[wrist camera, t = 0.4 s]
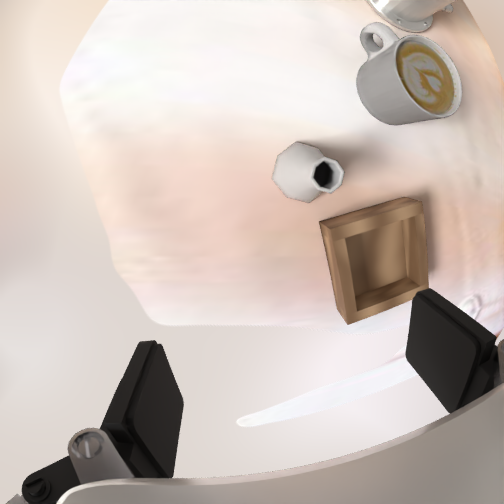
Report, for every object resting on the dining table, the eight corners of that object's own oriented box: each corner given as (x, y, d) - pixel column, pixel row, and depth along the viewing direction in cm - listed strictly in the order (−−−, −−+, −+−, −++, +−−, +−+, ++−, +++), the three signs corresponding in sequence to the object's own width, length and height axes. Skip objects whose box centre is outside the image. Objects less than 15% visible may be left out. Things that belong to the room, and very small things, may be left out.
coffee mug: (427, 114, 32) (473, 106, 22) (377, 135, 33) (420, 128, 23) (385, 33, 28) (422, 7, 19) (330, 46, 29) (359, 14, 20)
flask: (292, 131, 32) (315, 119, 23) (340, 164, 34) (377, 166, 24) (260, 181, 34) (271, 186, 24) (310, 212, 35) (337, 230, 26)
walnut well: (403, 197, 35) (422, 201, 31) (412, 280, 39) (428, 292, 35) (318, 221, 36) (330, 229, 31) (337, 309, 39) (347, 324, 35)
